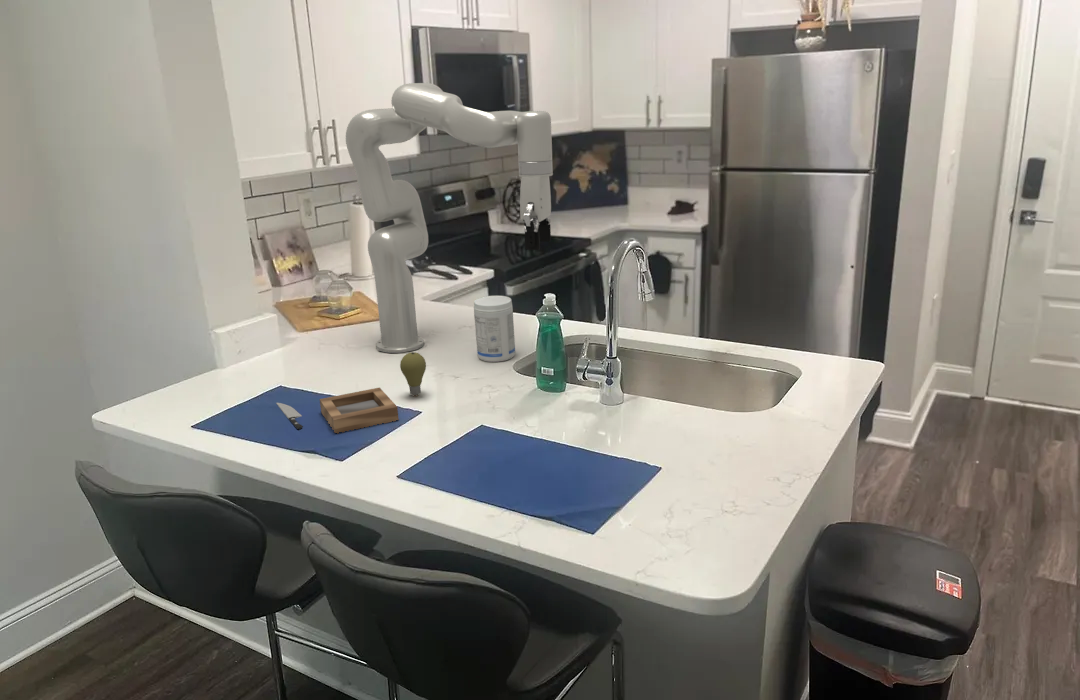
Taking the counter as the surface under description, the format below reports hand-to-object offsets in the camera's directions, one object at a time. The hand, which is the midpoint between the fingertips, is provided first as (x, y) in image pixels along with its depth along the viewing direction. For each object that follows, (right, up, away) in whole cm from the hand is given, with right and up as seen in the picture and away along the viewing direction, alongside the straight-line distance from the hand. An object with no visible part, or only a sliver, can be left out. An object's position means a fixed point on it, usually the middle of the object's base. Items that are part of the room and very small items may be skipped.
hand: (538, 245), depth 185 cm
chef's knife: (-52, -38, -14) cm, 66 cm away
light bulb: (-27, -34, -6) cm, 44 cm away
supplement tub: (-11, -26, +17) cm, 33 cm away
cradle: (-37, -38, -16) cm, 56 cm away
